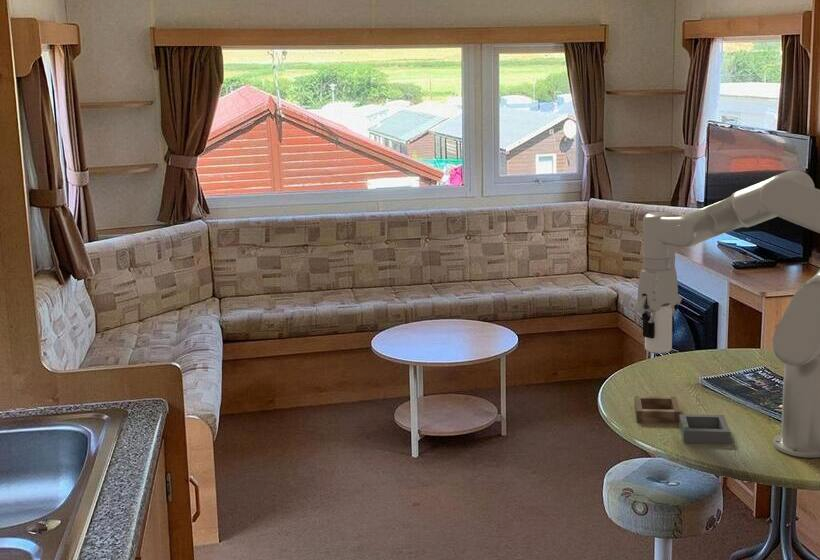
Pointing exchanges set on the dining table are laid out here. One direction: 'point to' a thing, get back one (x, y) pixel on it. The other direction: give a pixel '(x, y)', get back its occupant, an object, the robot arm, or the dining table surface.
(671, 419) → the brown square frame
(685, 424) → the gray square frame
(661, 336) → the can
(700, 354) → the dining table surface
